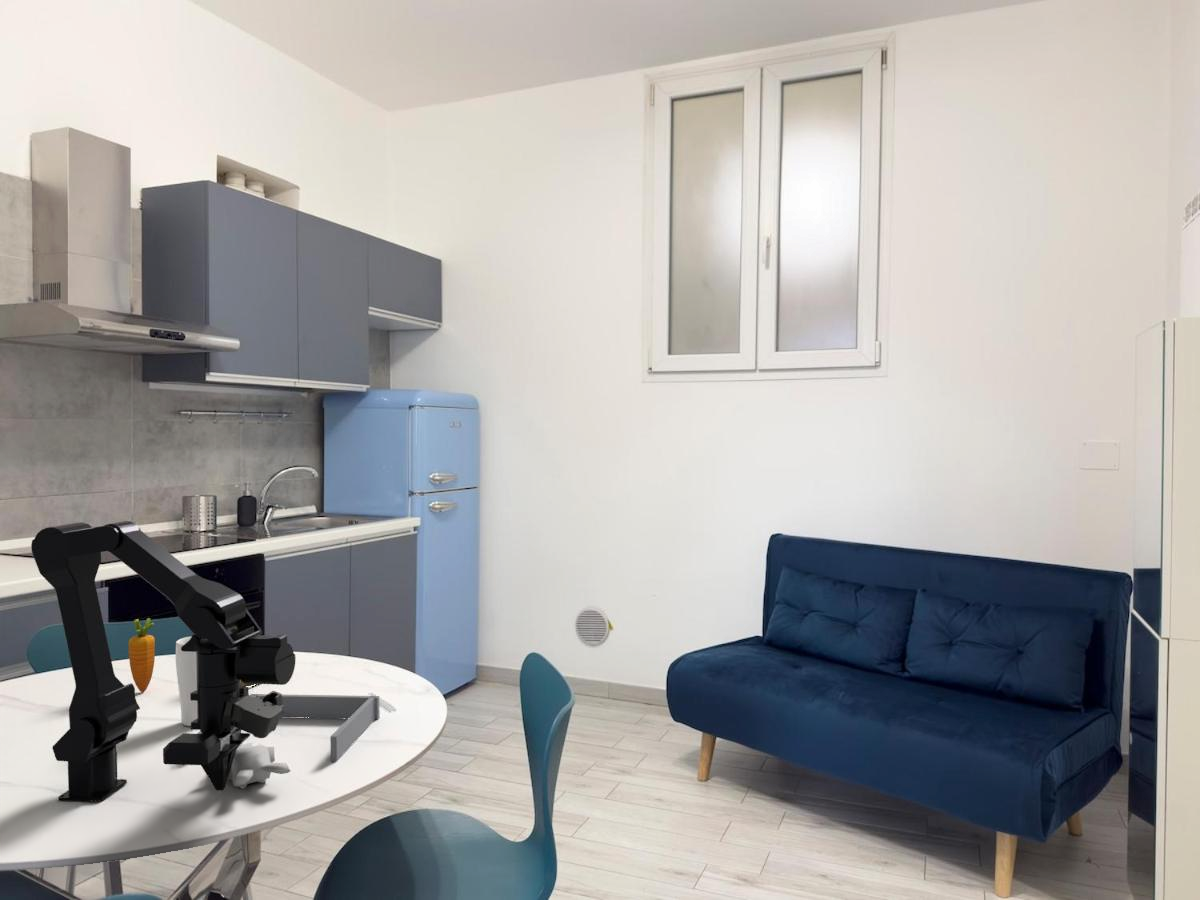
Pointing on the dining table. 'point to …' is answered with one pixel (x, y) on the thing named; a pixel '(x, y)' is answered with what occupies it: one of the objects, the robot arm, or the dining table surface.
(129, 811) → the dining table surface
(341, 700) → the grey u-shaped fence
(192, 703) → the drinking glass
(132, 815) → the dining table surface
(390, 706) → the butter knife
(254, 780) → the white rounded figure
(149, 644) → the carrot
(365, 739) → the dining table surface
